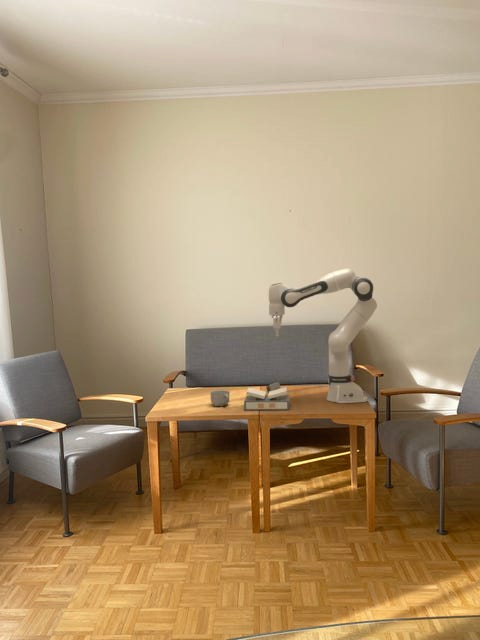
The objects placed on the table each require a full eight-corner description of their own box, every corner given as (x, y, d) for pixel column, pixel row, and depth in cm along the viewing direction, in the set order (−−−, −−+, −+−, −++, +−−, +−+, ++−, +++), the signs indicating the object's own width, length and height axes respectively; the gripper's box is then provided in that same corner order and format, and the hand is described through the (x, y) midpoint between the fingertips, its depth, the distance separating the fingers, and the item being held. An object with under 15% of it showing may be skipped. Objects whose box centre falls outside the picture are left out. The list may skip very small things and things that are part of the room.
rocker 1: (265, 394, 306) (266, 391, 306) (264, 399, 295) (264, 396, 295) (248, 390, 307) (248, 387, 306) (246, 394, 296) (246, 391, 296)
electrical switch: (274, 400, 315) (272, 384, 315) (266, 400, 318) (265, 384, 318) (283, 397, 322) (281, 381, 322) (276, 397, 326) (274, 381, 325)
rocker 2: (287, 389, 304) (286, 386, 304) (286, 394, 293) (285, 391, 293) (269, 394, 306) (269, 391, 305) (268, 399, 295) (267, 396, 295)
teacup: (208, 404, 312) (207, 390, 312) (226, 402, 316) (225, 388, 315) (216, 409, 299) (215, 395, 298) (234, 407, 303) (234, 393, 302)
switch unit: (289, 403, 306) (289, 391, 306) (289, 410, 292) (288, 397, 291) (246, 404, 309) (246, 392, 308) (244, 410, 295) (243, 398, 294)
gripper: (281, 312, 303) (282, 337, 304) (282, 310, 323) (283, 333, 324) (270, 313, 303) (271, 338, 305) (272, 310, 324) (273, 333, 325)
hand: (277, 335), depth 315 cm, fingers open, 8 cm apart
